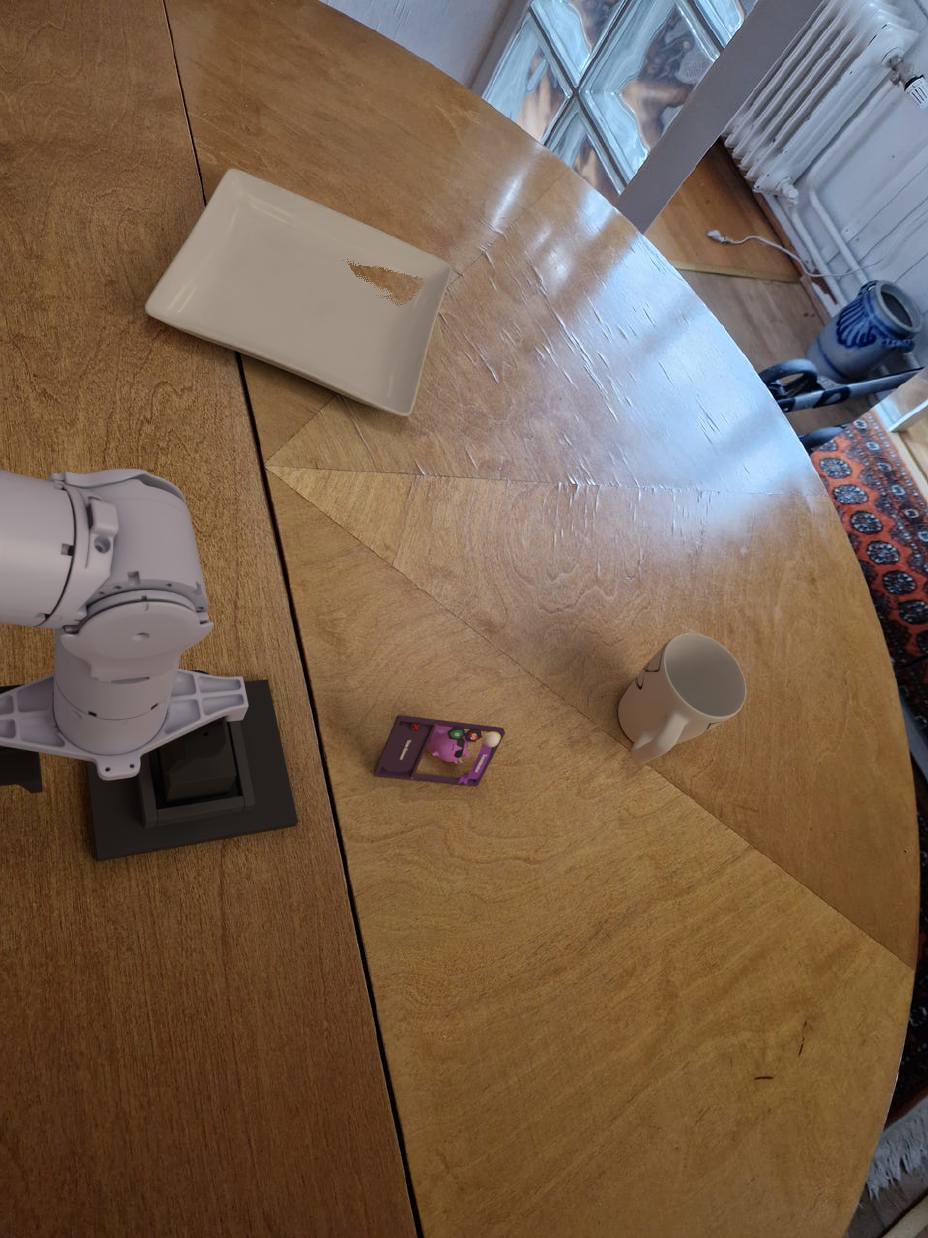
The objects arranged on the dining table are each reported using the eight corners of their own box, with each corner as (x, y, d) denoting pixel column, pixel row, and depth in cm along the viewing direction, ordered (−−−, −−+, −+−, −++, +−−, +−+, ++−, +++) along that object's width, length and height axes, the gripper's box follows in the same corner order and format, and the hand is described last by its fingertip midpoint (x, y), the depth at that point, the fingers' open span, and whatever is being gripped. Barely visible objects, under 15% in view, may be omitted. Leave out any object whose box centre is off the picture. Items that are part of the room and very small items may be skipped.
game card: (399, 725, 67) (507, 738, 70) (391, 677, 71) (495, 692, 74) (374, 783, 71) (479, 793, 74) (369, 735, 75) (468, 746, 78)
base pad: (96, 862, 61) (98, 851, 59) (78, 703, 66) (79, 689, 64) (295, 826, 67) (302, 815, 65) (265, 684, 72) (271, 670, 70)
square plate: (444, 286, 107) (456, 260, 104) (399, 442, 92) (411, 416, 89) (225, 188, 102) (230, 158, 99) (137, 336, 86) (140, 305, 83)
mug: (657, 805, 81) (722, 764, 73) (581, 751, 80) (638, 704, 73) (694, 715, 88) (757, 668, 80) (624, 665, 88) (680, 614, 80)
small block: (164, 804, 64) (170, 784, 61) (153, 727, 66) (158, 704, 63) (228, 794, 66) (236, 775, 63) (214, 720, 68) (222, 698, 65)
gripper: (-47, 763, 40) (-27, 853, 50) (274, 723, 46) (232, 809, 57) (-54, 626, 43) (-33, 738, 53) (249, 606, 49) (213, 709, 60)
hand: (103, 768), depth 55 cm, fingers open, 7 cm apart
